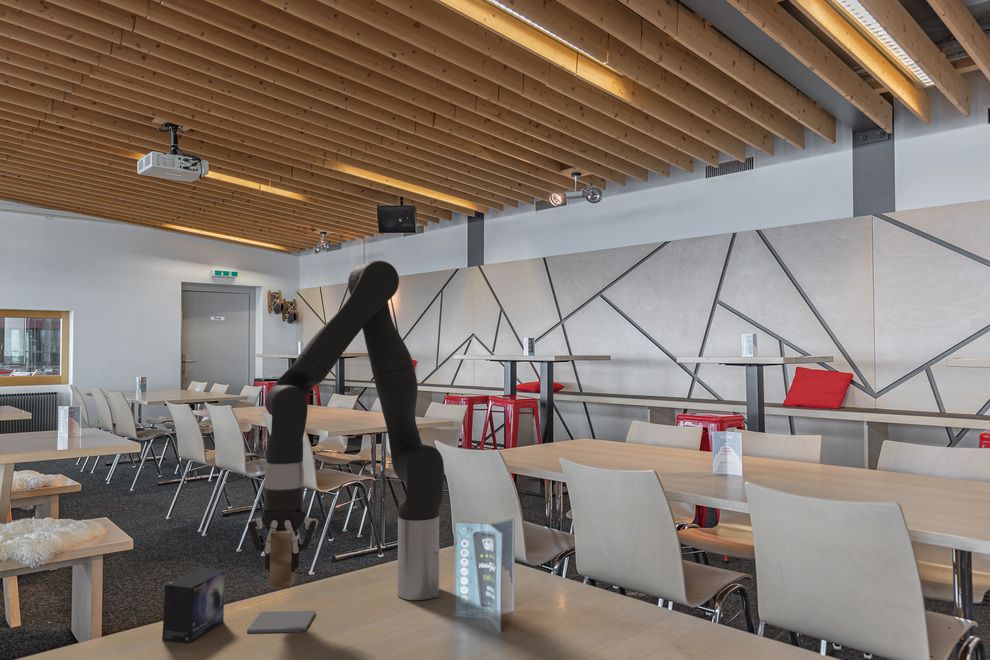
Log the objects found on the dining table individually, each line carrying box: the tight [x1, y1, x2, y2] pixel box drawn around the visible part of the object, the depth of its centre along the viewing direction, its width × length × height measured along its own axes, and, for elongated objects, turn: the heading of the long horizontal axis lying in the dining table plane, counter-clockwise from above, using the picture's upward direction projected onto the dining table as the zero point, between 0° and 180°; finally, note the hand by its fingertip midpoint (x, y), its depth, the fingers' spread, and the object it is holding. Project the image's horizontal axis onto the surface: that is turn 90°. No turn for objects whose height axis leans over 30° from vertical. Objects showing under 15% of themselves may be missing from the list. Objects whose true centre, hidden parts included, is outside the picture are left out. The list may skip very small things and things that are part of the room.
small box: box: [161, 567, 226, 644], centre depth 128 cm, size 11×6×10 cm, turn 168°
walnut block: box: [269, 530, 296, 589], centre depth 132 cm, size 4×4×11 cm
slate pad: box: [246, 610, 316, 634], centre depth 131 cm, size 11×9×1 cm
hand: (282, 570), depth 132 cm, fingers closed on walnut block, 4 cm apart
